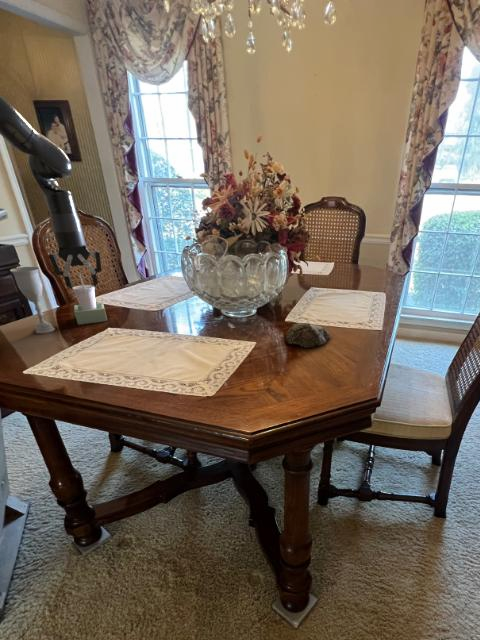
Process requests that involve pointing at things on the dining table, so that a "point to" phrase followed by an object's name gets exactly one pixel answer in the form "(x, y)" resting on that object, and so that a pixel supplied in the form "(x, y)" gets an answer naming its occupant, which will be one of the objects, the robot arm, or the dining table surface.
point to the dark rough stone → (307, 335)
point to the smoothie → (85, 295)
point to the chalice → (32, 292)
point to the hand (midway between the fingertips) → (83, 287)
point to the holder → (90, 314)
